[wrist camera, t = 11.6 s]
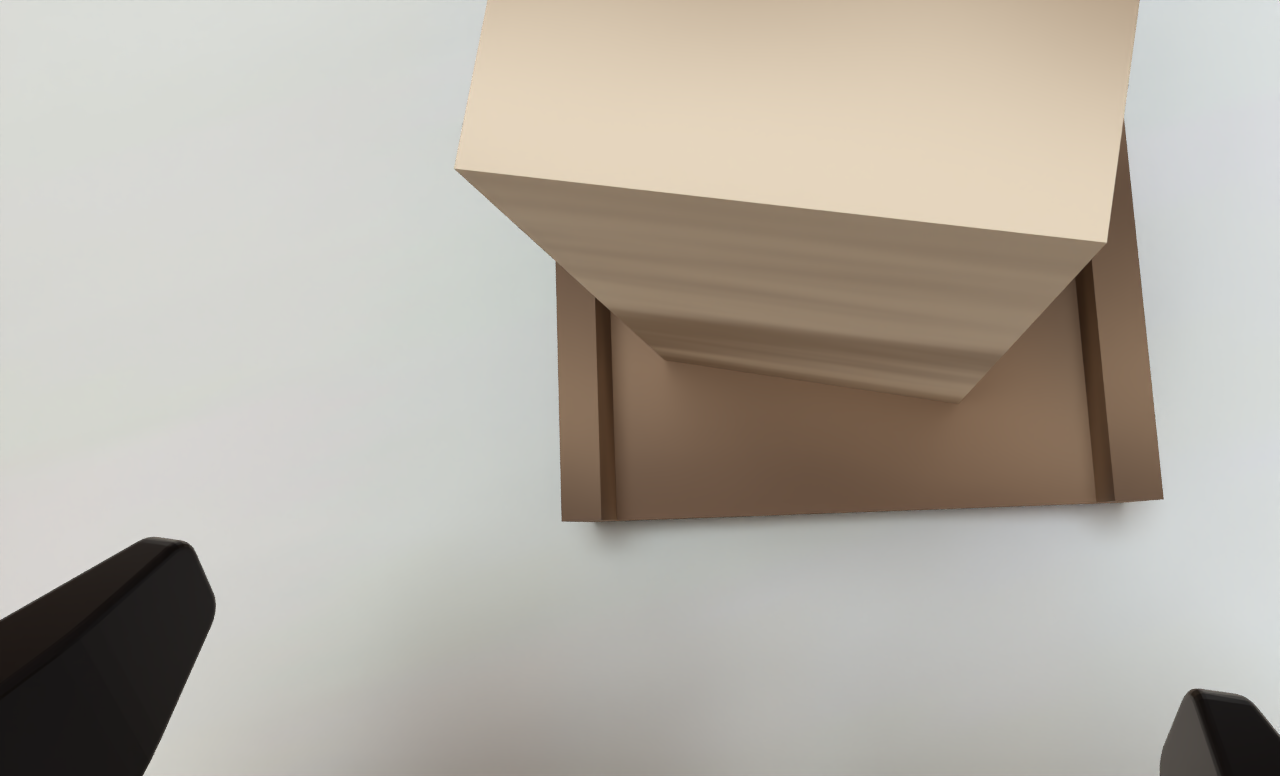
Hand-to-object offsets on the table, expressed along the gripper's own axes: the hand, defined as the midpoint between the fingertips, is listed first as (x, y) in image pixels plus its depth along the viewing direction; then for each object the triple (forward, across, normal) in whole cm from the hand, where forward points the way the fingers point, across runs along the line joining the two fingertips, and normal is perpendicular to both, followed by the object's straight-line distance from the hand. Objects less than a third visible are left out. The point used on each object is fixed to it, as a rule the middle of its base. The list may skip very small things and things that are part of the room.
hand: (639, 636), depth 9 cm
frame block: (+13, -1, +4) cm, 14 cm away
